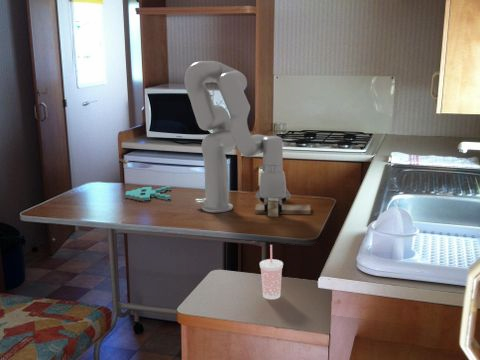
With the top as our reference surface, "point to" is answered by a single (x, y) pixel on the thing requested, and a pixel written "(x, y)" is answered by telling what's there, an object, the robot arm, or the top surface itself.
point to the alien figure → (148, 193)
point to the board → (286, 209)
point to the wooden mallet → (272, 207)
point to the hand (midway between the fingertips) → (273, 213)
